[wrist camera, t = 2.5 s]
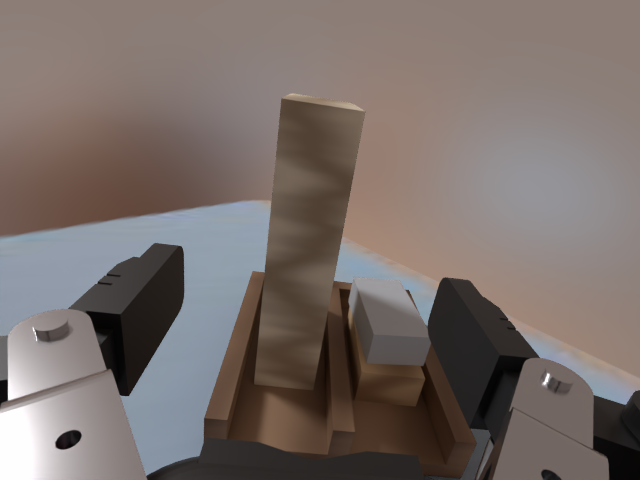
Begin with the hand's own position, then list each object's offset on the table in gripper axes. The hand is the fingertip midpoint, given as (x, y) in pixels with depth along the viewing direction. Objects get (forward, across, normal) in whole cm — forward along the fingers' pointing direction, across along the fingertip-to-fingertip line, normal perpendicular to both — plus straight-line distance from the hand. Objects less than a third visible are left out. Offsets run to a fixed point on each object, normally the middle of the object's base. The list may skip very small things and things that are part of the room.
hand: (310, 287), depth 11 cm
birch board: (+12, 0, +13) cm, 18 cm away
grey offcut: (+13, -7, +11) cm, 18 cm away
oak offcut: (+12, -7, +13) cm, 19 cm away
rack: (+12, -3, +14) cm, 19 cm away
